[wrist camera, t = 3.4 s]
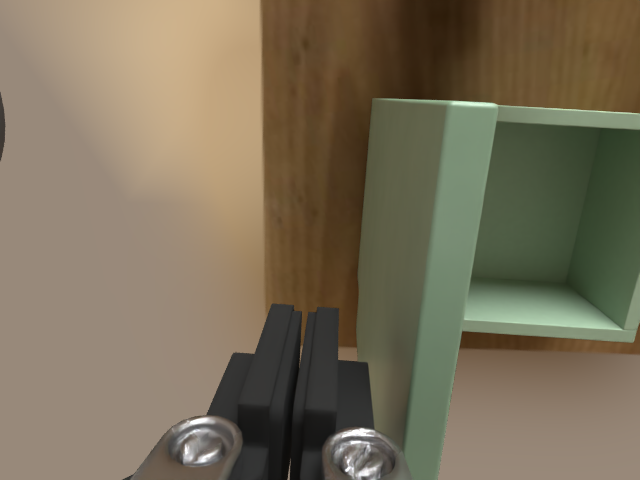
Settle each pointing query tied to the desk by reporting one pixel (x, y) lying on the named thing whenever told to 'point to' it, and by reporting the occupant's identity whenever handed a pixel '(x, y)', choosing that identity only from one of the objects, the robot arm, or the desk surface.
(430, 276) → the lid
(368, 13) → the desk surface
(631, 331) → the box
